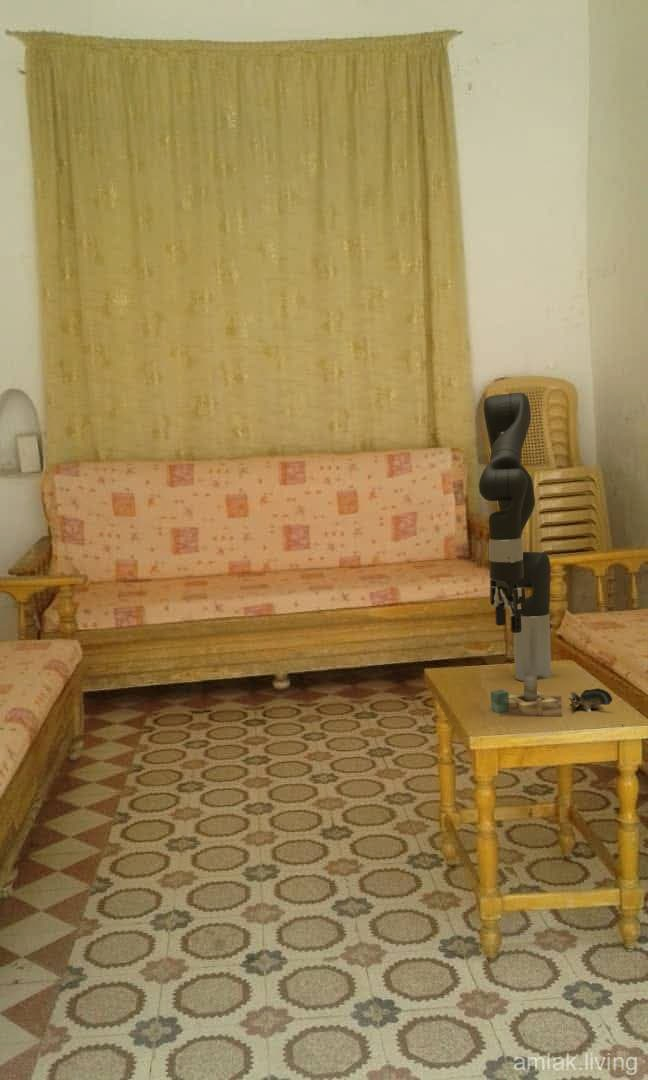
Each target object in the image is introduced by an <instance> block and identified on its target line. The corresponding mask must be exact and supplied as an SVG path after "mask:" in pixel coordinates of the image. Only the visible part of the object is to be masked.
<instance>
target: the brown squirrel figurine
mask: <svg viewBox="0 0 648 1080" xmlns="http://www.w3.org/2000/svg"><path fill="white" fill-rule="evenodd" d="M570 695H571V697H568V700H570V702H571V703H570V704H569V707H571V709H572V712H573V711H574V712H576V711H579V710H582V709H583V710H584V711H585V712H586V713H592V710H591V709H594V710H596V711H603V710H605V708H604V707H603V706H602V705H605V706H606V705H611V703H612V702H613V698H612V695H611V694H610V693H609V692H608V691H606V690H605V689H602V688H594V689H585V690H584V691H583V692H582V693H581V694H580V695H578V694H577V693H576V692H575V691H572V692H570Z"/></svg>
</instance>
